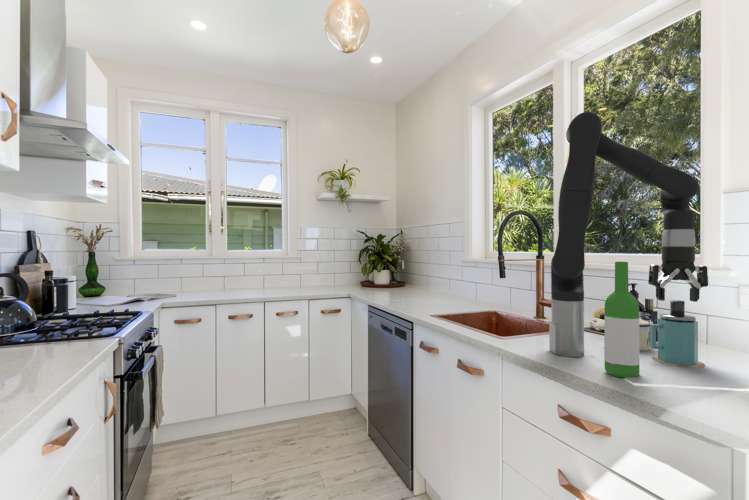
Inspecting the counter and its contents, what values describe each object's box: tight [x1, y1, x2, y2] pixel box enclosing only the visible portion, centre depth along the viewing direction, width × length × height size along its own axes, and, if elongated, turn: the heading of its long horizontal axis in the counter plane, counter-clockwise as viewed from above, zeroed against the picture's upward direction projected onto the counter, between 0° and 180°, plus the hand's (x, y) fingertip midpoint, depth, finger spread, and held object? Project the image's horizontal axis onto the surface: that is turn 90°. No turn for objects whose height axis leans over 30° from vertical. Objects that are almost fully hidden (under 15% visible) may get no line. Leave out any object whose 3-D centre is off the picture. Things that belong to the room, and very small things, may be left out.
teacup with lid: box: [639, 317, 651, 351], centre depth 125 cm, size 12×9×12 cm
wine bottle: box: [603, 261, 641, 379], centre depth 98 cm, size 8×8×30 cm
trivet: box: [651, 354, 706, 369], centre depth 107 cm, size 12×12×1 cm
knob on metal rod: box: [659, 299, 697, 322], centre depth 107 cm, size 8×8×15 cm
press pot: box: [649, 317, 699, 366], centre depth 107 cm, size 11×8×12 cm
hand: (677, 300), depth 107 cm, fingers open, 8 cm apart
